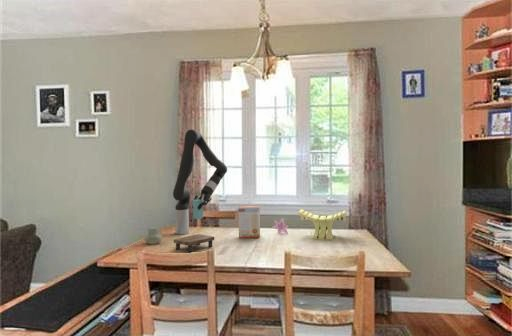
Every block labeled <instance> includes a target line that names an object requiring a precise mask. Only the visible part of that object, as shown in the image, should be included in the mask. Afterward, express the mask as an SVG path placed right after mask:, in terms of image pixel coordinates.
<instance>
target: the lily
mask: <svg viewBox="0 0 512 336" xmlns="http://www.w3.org/2000/svg"><path fill="white" fill-rule="evenodd" d="M274 223H275V224H274V225H273V226H272V227H271V229H275V230H277V233H278V235H280V234H282V232H283V233H284V234H286V235H288V230H287V228H288V227H289V225H288V224H285V219H284V218H281V219H280V220H279V221H277V220H274Z"/></svg>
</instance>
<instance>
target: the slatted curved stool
mask: <svg viewBox="0 0 512 336" xmlns="http://www.w3.org/2000/svg"><path fill="white" fill-rule="evenodd" d="M297 213H298V217H300V221H304V220H309V221H311V222H312V223H313V225H314V230H315V231H314V233H313V235H312V237H311V240H330V241H332V240H333V237H334V235H333V224H334V223H335V222H337V221H343V222H347V210H346V209H344V210H343V211H340V212H338V213H335V214H331V215H330V214H329V215H319V214H313V213H312V212H309V211H307V210H306V211H305V209H303V208H300V209H299V210H298V212H297Z"/></svg>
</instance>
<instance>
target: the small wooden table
mask: <svg viewBox="0 0 512 336" xmlns="http://www.w3.org/2000/svg"><path fill="white" fill-rule="evenodd" d="M213 241H215V236H212V235H206V234H201V233H198V234H194V235H189V236H183V237H179V238H175V239H173V244H175V250H176V251H177V250H179V249H180V250H181V246H186V247H187V246H188V247H187V249H188V250H187V252H188V253H191V252H190V251H192V252H193V246H195V245H196V246H197V245H198V246H200V245H201V244H203V243H204V244H205V243H208V245H207V247H208V248H213Z"/></svg>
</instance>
